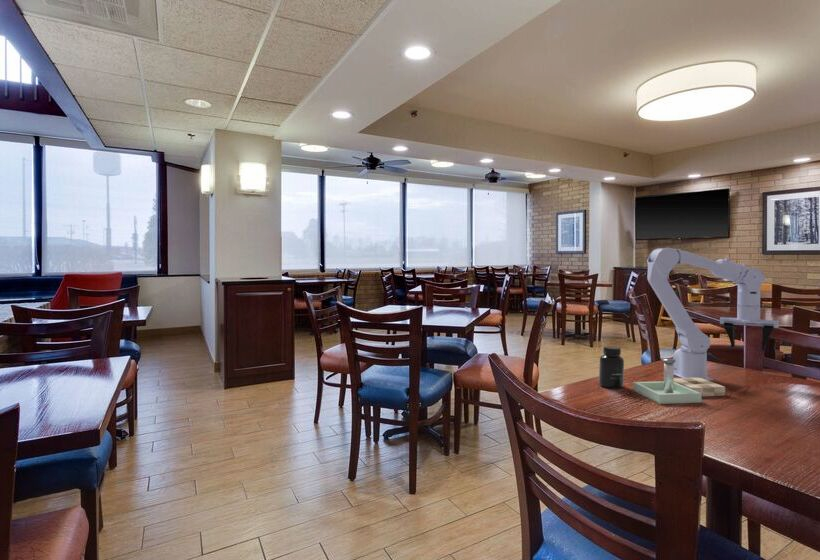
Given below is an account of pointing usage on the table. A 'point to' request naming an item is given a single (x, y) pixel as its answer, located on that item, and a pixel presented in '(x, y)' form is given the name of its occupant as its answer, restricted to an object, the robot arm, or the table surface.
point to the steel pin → (668, 375)
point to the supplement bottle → (611, 368)
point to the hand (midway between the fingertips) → (747, 348)
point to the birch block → (702, 386)
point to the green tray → (657, 393)
